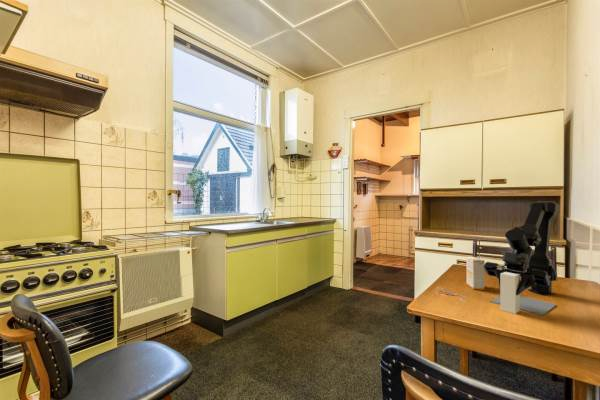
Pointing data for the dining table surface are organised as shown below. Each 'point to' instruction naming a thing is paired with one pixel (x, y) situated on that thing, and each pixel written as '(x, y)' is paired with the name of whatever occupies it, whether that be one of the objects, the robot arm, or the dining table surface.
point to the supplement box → (475, 273)
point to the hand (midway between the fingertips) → (508, 292)
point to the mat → (531, 305)
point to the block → (509, 292)
